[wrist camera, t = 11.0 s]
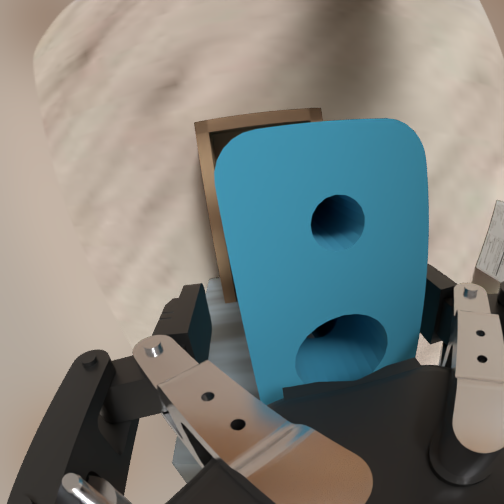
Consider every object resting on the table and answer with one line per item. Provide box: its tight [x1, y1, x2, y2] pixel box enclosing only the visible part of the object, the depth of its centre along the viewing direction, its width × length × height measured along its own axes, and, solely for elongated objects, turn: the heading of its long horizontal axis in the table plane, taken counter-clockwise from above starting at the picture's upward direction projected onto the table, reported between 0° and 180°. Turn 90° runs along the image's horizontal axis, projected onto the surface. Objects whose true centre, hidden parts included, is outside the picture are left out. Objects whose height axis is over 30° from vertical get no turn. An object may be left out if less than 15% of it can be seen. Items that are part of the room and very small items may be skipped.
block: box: [214, 118, 429, 406], centre depth 17 cm, size 12×5×20 cm, turn 9°
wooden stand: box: [172, 108, 323, 483], centre depth 19 cm, size 18×14×22 cm
